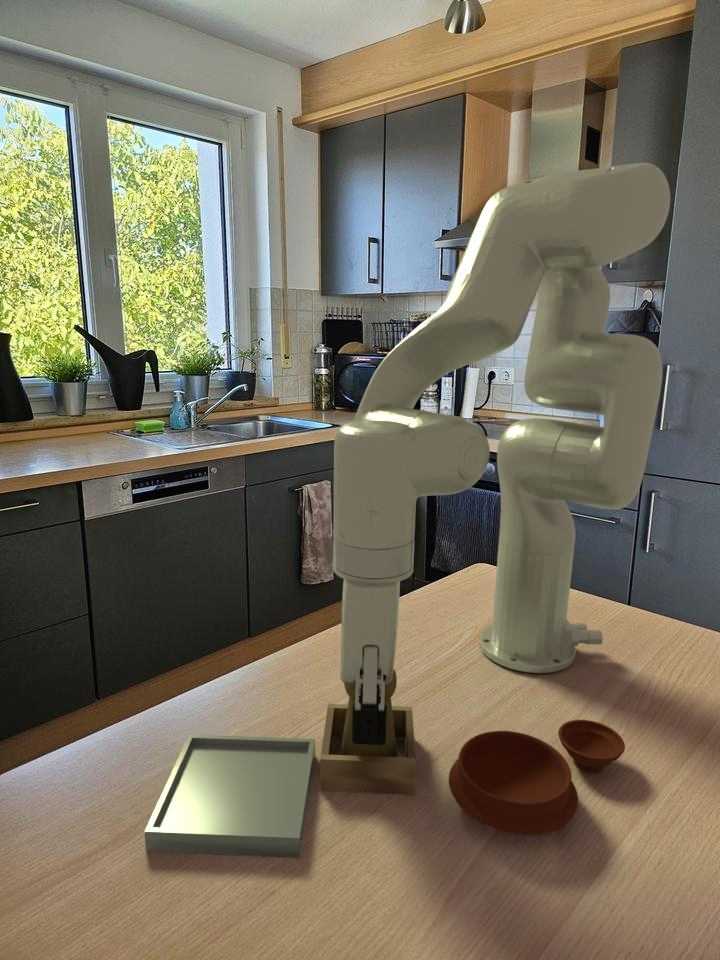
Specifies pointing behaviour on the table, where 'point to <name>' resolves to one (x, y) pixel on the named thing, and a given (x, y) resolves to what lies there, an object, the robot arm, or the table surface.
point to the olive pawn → (390, 744)
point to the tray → (235, 797)
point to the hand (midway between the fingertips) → (369, 723)
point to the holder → (368, 759)
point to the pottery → (528, 776)
